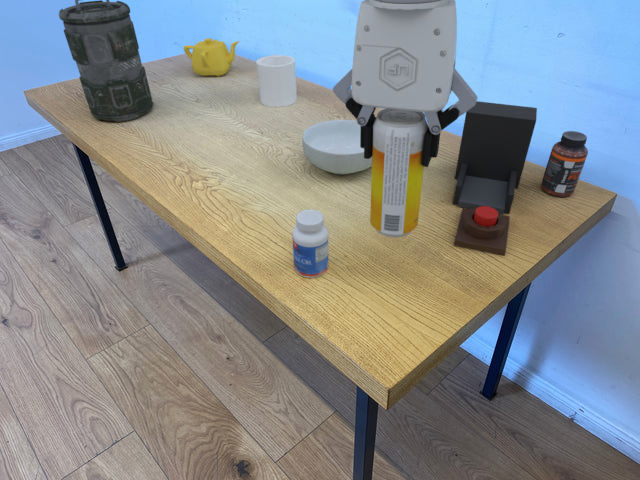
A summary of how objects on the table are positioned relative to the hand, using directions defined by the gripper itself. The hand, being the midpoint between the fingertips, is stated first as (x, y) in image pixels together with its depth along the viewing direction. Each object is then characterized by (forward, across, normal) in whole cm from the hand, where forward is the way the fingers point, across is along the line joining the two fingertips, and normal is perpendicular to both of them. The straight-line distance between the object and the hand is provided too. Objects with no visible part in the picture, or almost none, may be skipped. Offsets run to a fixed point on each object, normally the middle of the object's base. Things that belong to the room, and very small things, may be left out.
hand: (398, 156), depth 55 cm
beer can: (+10, 0, 0) cm, 10 cm away
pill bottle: (+22, -13, +2) cm, 26 cm away
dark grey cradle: (+23, +10, +35) cm, 43 cm away
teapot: (+21, -77, +80) cm, 113 cm away
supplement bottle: (+23, +23, +39) cm, 51 cm away
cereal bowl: (+22, -19, +35) cm, 46 cm away
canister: (+21, -84, +44) cm, 97 cm away
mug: (+22, -48, +66) cm, 84 cm away
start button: (+20, +11, +20) cm, 30 cm away
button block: (+23, +11, +20) cm, 32 cm away
